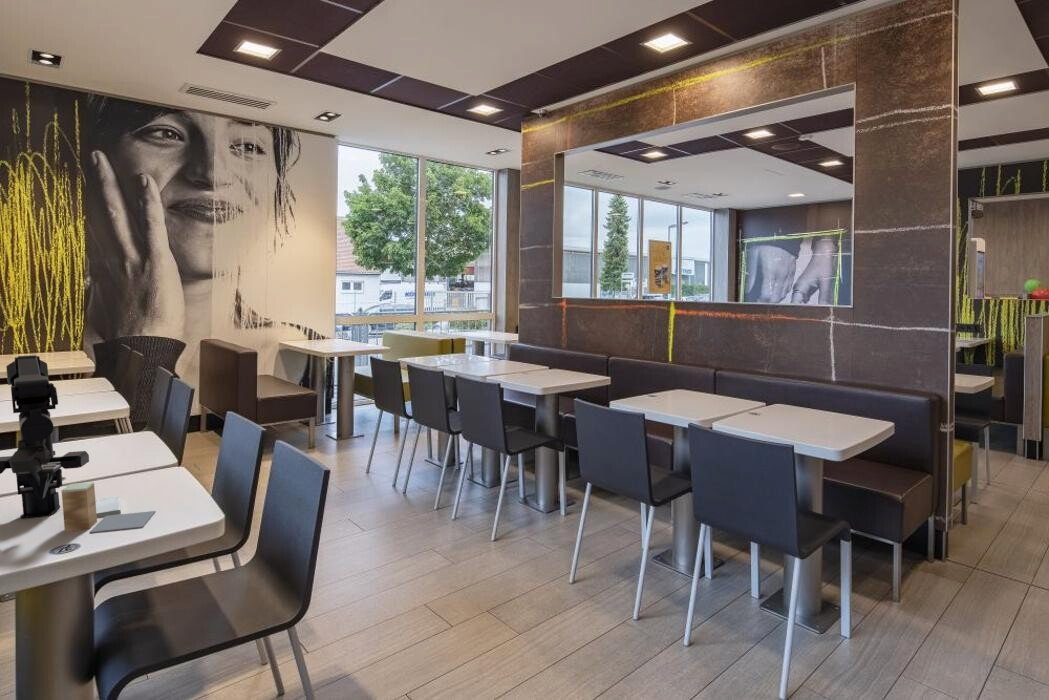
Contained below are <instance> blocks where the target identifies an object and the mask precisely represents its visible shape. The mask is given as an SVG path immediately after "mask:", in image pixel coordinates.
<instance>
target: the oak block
mask: <svg viewBox="0 0 1049 700" xmlns="http://www.w3.org/2000/svg"><path fill="white" fill-rule="evenodd" d="M61 501H62V502H61V503H62V514H63V526H64V532H65V533H66V532H75V531H86V530H90V529H92V527H93V526H95V525H96V523H97V522H98V518H97V514H96V493H95V481H91V482H78V483H69V484H68V485H67V486H66V487H64V488H62V489H61Z"/></svg>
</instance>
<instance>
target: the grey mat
mask: <svg viewBox="0 0 1049 700" xmlns="http://www.w3.org/2000/svg"><path fill="white" fill-rule="evenodd" d="M155 513H156V510H152V511H150V510H149V511H142V512H141V511H139V512H130V513H121V514H115V515H109V516H104V517H102V519H101V520H100V521H99V522H98V523H97V524H95V525H94V527H93V528H91V530H90V531H89V534H95V533H105V532H112V531H113V532H115V531H124V530H132V529H133V530H134V529H143V528H144V527H145V526H146V525H147V523H148V522H149V521H150V520H151V518H152V517H153V516H154V515H155Z"/></svg>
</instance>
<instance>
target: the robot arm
mask: <svg viewBox="0 0 1049 700" xmlns="http://www.w3.org/2000/svg"><path fill="white" fill-rule="evenodd" d="M48 368H49V367H48V363H47V362H45V361H44V360H41V358H40V355H36V354H34V355H19V356H16V357H15V356H14V361H12V362H10V363H9V364H7V365H6V380H7V385H8V386H10V392H11V403H12V412H13V414H18V423H19V434H20V440H18V441H17V442H18V443H17V448H16V449H17V450H16V451H14V453H13V454H12V455H8V456H6V455H5V456H0V475H1V474H2V473H4V472H5V471H6V470H7V469H9V470H10V469H11V472H12V474H15V478H16V486H17V495H18V496H19V495H21V499H22V501H21V502H22V503H21V504H22V505H21V506H22V511H23V512H22V514H21V515H20V517H19V518H20V519H23V518H24V519H25V518H26V519H27V518H34V517H35V518H36V517H45V516H51V515H52V514H53V513H55V512H56V511H57V510H59V509H60V508H61V505H60V496H59V492H58V491H56V490H57V489H60V487H62V486H63V474H62V473H63V470H62V469H61V468H63V469H65V470H68V469H69V470H71V469H79V468H82V467H84V466H85V465H86V464H87V463H89V462H90V456H89V455H90V454H89V453H88V452H87V451H86V450H80V451H78V450H77V451H68V452H66V453H65V454H64V455H62V456H56V450H54V449H53V448H54V446H53V439H55V433H53V431H54V423H53V420H52V419H51V412H50V411H49V410H56V405H57V406H58V405H59V400H58V392H57V387H56V386H55V384H54V383H52V382H50V381H49V369H48Z"/></svg>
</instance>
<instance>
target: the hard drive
mask: <svg viewBox="0 0 1049 700" xmlns="http://www.w3.org/2000/svg"><path fill="white" fill-rule="evenodd" d="M95 501H96V514H97V519H98V518H104V517H105V516H109V515H119V514H122V513H121V512H122V511H121V510H122V509H121V499H120V497H119V496H117V497H110V498H102V499H97V500H96V499H95Z"/></svg>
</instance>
